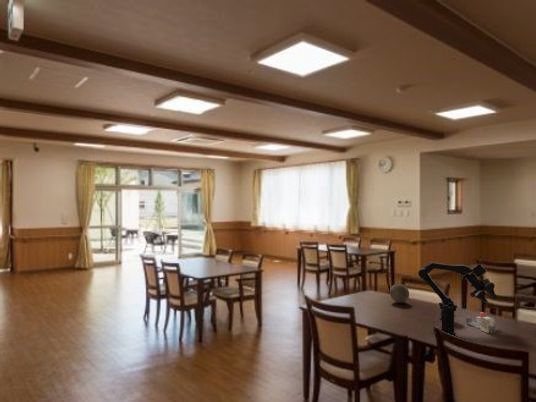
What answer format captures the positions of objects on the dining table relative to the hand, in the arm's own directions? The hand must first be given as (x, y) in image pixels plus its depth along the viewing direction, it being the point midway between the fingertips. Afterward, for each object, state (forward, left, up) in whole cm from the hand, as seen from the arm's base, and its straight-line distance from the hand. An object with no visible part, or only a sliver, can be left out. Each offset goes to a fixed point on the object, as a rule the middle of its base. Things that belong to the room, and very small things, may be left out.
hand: (491, 300), depth 261 cm
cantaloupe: (-24, +65, -16) cm, 71 cm away
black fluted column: (-46, -13, -16) cm, 50 cm away
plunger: (-3, +5, -14) cm, 15 cm away
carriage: (-12, -9, -16) cm, 22 cm away
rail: (-12, -3, -16) cm, 20 cm away
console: (-3, +5, -16) cm, 17 cm away
